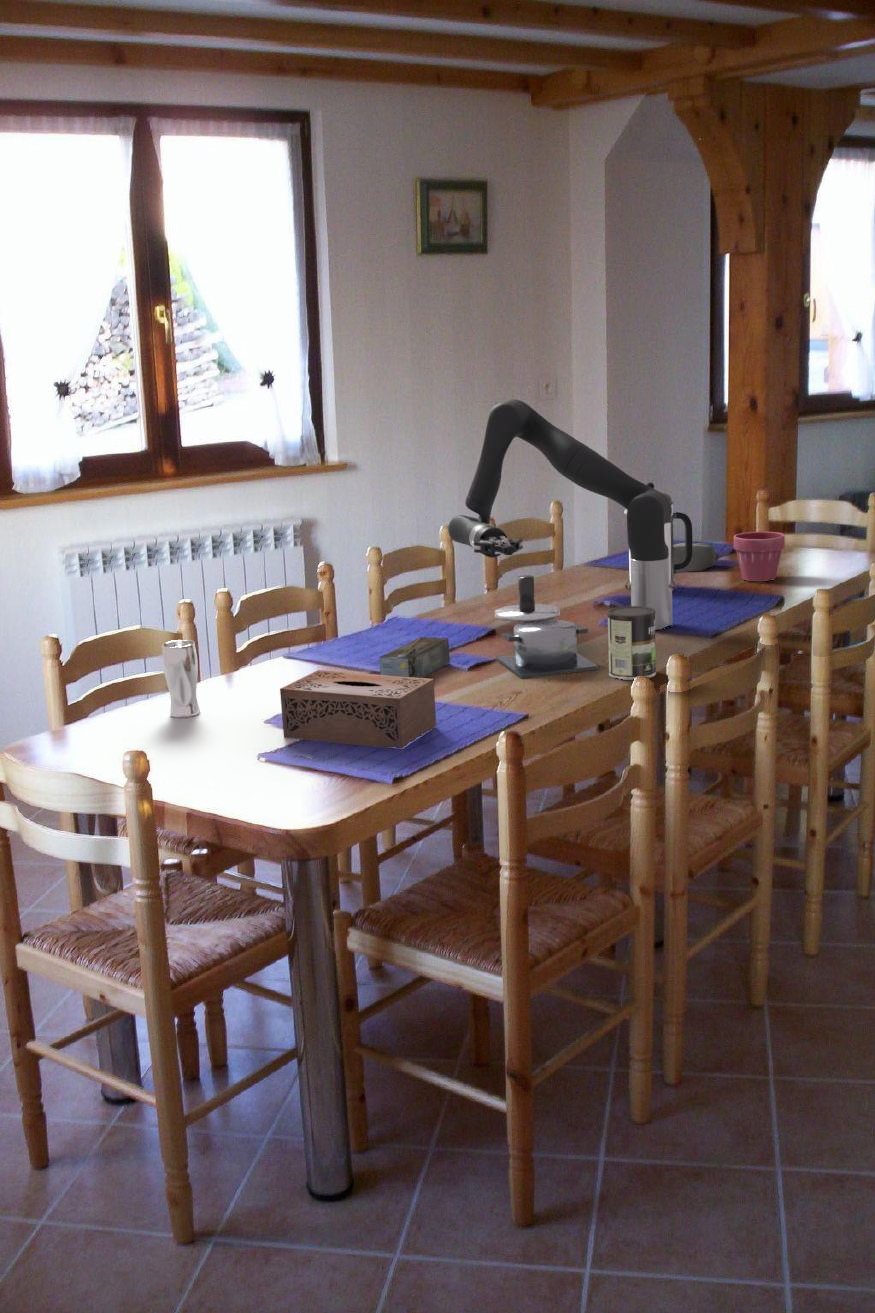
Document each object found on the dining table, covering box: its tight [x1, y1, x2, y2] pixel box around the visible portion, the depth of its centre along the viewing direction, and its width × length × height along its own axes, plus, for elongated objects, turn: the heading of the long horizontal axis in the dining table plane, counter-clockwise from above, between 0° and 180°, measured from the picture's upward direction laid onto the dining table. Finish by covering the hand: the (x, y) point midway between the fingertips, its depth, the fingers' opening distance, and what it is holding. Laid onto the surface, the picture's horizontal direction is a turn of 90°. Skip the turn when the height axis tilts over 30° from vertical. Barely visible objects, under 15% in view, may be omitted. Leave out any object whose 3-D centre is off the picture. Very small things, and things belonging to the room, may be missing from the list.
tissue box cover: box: [279, 669, 437, 748], centre depth 266 cm, size 26×14×10 cm, turn 64°
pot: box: [495, 619, 599, 679], centre depth 309 cm, size 19×18×9 cm
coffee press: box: [623, 481, 693, 590], centre depth 383 cm, size 17×16×30 cm
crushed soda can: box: [161, 639, 201, 719], centre depth 284 cm, size 7×7×15 cm
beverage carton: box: [378, 636, 451, 678], centre depth 309 cm, size 8×19×7 cm, turn 151°
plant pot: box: [733, 531, 786, 581], centre depth 390 cm, size 14×14×13 cm
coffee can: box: [606, 605, 657, 681], centre depth 297 cm, size 10×10×14 cm
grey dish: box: [673, 542, 720, 573], centre depth 413 cm, size 18×11×8 cm, turn 80°
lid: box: [494, 574, 561, 623], centre depth 318 cm, size 15×15×9 cm
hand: (509, 550), depth 327 cm, fingers closed
